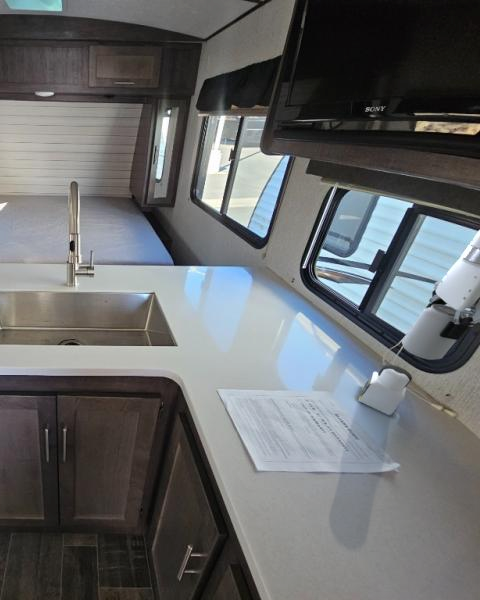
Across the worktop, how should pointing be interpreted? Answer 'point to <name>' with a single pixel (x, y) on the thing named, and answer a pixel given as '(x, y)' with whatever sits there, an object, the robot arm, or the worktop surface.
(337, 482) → the worktop surface
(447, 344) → the can
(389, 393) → the white piece
